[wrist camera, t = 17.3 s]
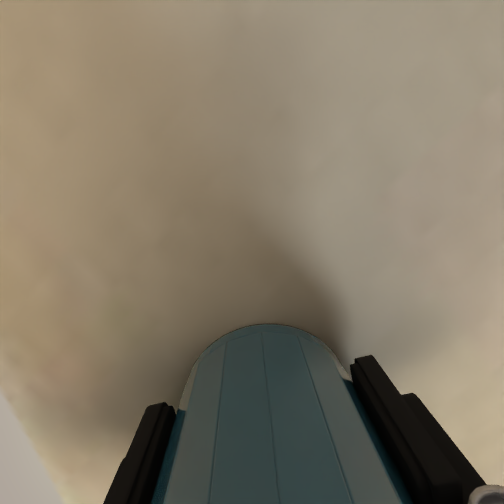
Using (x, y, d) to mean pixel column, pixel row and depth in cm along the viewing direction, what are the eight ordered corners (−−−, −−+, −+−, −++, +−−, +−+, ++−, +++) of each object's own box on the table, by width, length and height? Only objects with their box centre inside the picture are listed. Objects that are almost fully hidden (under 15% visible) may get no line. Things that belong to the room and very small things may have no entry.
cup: (190, 316, 10) (59, 657, 3) (360, 330, 10) (616, 668, 3) (182, 453, 11) (82, 898, 4) (331, 462, 11) (461, 890, 5)
